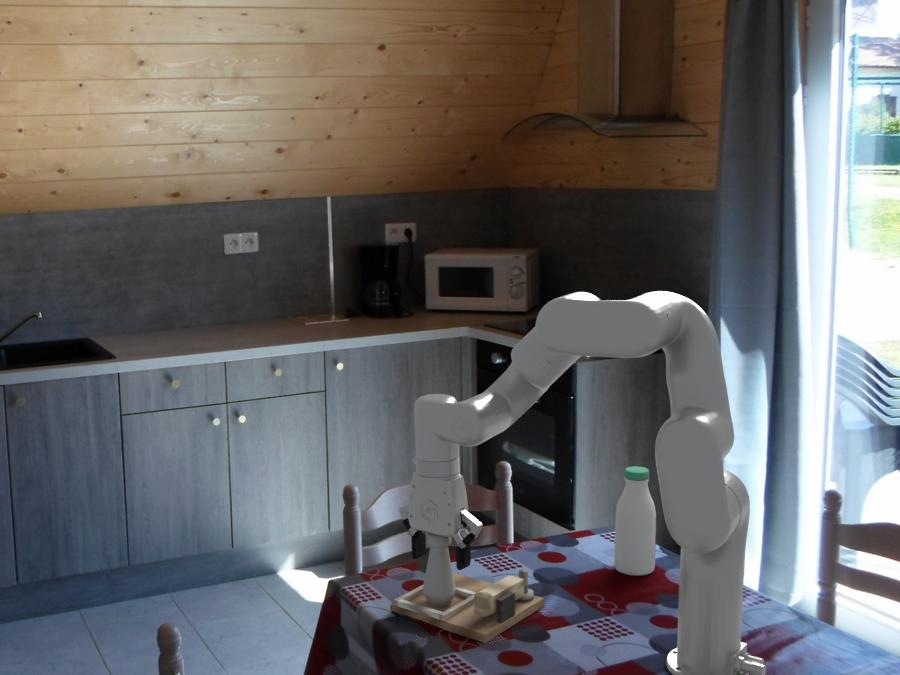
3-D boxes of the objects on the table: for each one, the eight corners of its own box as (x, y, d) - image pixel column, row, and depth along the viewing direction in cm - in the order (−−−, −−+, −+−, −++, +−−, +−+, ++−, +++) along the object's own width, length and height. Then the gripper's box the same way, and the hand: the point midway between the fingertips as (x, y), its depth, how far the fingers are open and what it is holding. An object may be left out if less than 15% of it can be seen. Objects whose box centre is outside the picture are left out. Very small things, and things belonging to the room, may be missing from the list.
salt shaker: (418, 606, 184) (417, 535, 182) (428, 594, 190) (427, 524, 188) (450, 610, 183) (450, 538, 181) (459, 597, 188) (459, 527, 186)
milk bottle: (654, 578, 200) (657, 476, 197) (613, 575, 202) (615, 473, 199) (655, 563, 208) (657, 464, 205) (615, 560, 209) (617, 462, 206)
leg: (509, 591, 187) (510, 575, 187) (524, 595, 185) (524, 579, 185) (470, 613, 178) (470, 596, 178) (485, 617, 176) (485, 600, 176)
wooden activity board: (543, 606, 188) (544, 571, 187) (485, 642, 174) (485, 605, 173) (453, 579, 200) (453, 547, 199) (391, 612, 186) (391, 577, 185)
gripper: (385, 464, 184) (389, 559, 187) (465, 479, 174) (468, 579, 177) (412, 454, 190) (415, 546, 193) (491, 468, 180) (494, 565, 183)
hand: (441, 561), depth 185 cm, fingers open, 9 cm apart
